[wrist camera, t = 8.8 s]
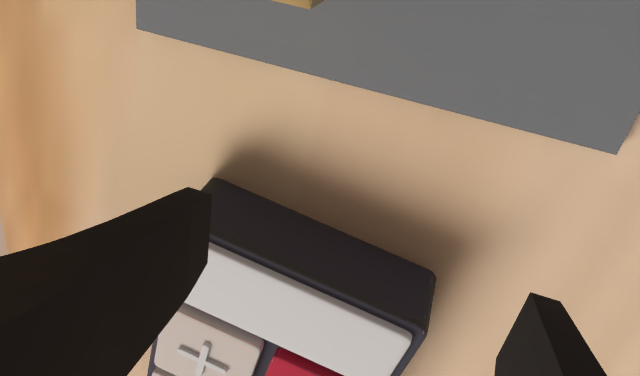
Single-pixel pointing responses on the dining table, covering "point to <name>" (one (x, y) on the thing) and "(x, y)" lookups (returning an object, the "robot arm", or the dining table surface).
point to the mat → (445, 54)
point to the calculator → (292, 299)
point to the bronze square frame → (301, 3)
